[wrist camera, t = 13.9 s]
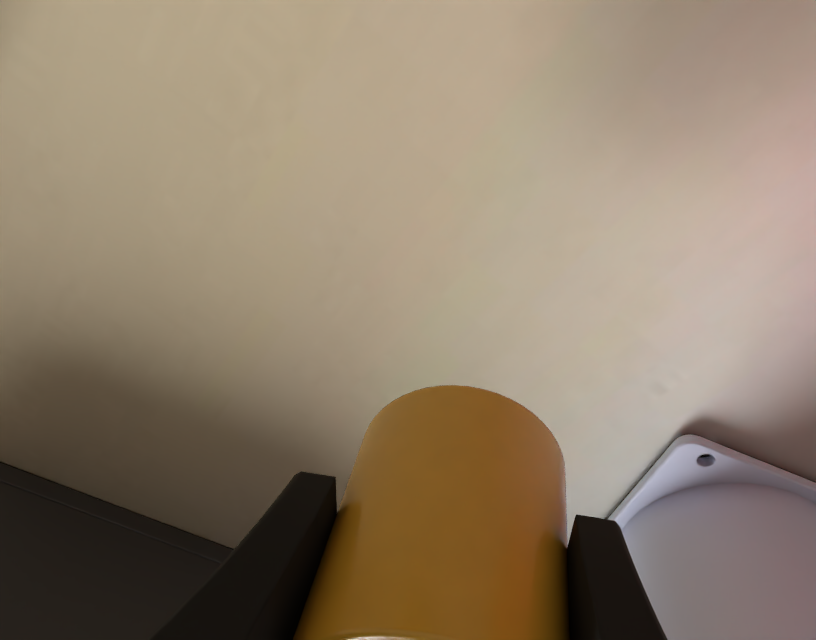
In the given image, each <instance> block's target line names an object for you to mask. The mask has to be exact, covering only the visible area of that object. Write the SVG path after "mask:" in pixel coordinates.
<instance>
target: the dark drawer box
mask: <svg viewBox="0 0 816 640" xmlns="http://www.w3.org/2000/svg"><path fill="white" fill-rule="evenodd" d="M232 551H233V550H232V549H229V548H226V547H224V546H221V545H218V544H216V543H213V542H210V541H208V540H205V539H203V538H200V537H197V536H195V535H192V534H189V533H187V532H184V531H181V530H179V529H176V528H173V527H171V526H168V525H165V524H163V523H160V522H157V521H155V520H152V519H149V518H147V517H144V516H141V515H139V514H136V513H133V512H131V511H128V510H125V509H123V508H120V507H117V506H115V505H112V504H109V503H107V502H104V501H101V500H99V499H96V498H93V497H91V496H88V495H85V494H83V493H80V492H77V491H75V490H72V489H69V488H67V487H64V486H61V485H59V484H56V483H53V482H51V481H48V480H45V479H43V478H40V477H37V476H35V475H32V474H29V473H27V472H24V471H21V470H19V469H16V468H13V467H11V466H8V465H5V464H3V463H0V640H147V639H148V638H149V637H150V636H151V635H152V634H153V633H154V632H155V631H156V630H157V629H158V628H159V627H160V626H161V625H162V624H163V623H164V622H166V621H167V620H168V619H169V618H170V617H171V616H172V615H173V614H174V612H175V611H176V610H177V609H178V608H179V607H180V606H181V605H182V604H183V603H184V602H185V601H186V600H187V599H188V598H189V597H190V596H191V595H192V594H193V593H194V592H195V591H196V590H197V589H198V588H199V587H200V586H201V585H202V584H203V583H204V582H205V581H206V580H207V579H208V578H209V577H210V576H211V575H212V574H213V572H214V571H215V570H216V569H217V568H218V567H219V566H220V565H221V564H222V562H223V561H224V560H225V559H226V558H227V557H228V556H229V555H230V554H231V552H232Z"/></svg>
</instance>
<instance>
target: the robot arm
mask: <svg viewBox="0 0 816 640" xmlns="http://www.w3.org/2000/svg"><path fill="white" fill-rule="evenodd" d="M704 454H709V455H710V456H708V457H704V458H701V457H699V456H701V455H704ZM336 514H337V504H336V477H333V476H326V475H320V474H314V473H307V472H299V473H298V474H296V475H295V476H294V477H293V478H292V480H291V481H290V482H289V484H288V485H287V486H286V488H285V489H284V490H283V491H282V493H281V494H280V495H279V497H278V498H277V499H276V500H275V502H274V503H273V504H272V505H271V507H270V508H269V509H268V510H267V512H266V513H265V514H264V515H263V517H262V518H261V519H260V520H259V521H258V522H257V524H256V525H255V526H254V527H253V528H252V530H251V531H250V532H249V533H248V534H247V536H246V537H245V538H244V539H243V540H242V541H241V542H240V543H239V545H238V546H237V547H236V548H235V549H234V550H233V551H232V552H231V554H230V555H229V556H228V557H227V558H226V559H225V560H224V561H223V562H222V564H221V565H220V566H219V567H218V568H217V569H216V570H215V571H214V572H213V574H212V575H211V576H210V577H209V578H208V579H207V580H206V581H205V582H204V583H203V584H202V585H201V586H200V587H199V588H198V589H197V590H196V591H195V592H194V593H193V594H192V595H191V596H190V597H189V598H188V599H187V600H186V601H185V602H184V603H183V604H182V605H181V606H180V607H179V608H178V609H177V610H176V611H175V612H174V614H173V615H172V616H171V617H170V618H169V619H168V620H167V621H166V622H164V623H163V624H162V625H161V626H160V627H159V628H158V629H157V630H156V631H155V632H154V633H153V634H152V635H151V636H150V637H149V638H148V639H147V640H292V639H293V636H294V633H295V630H296V627H297V624H298V622H299V619H300V616H301V613H302V610H303V607H304V605H305V602H306V599H307V596H308V593H309V591H310V588H311V585H312V582H313V579H314V576H315V574H316V571H317V568H318V565H319V563H320V560H321V557H322V554H323V551H324V548H325V546H326V543H327V540H328V537H329V534H330V531H331V529H332V526H333V523H334V520H335V517H336ZM567 561H568V593H569V620H570V640H816V483H815V482H812V481H810V480H807V479H805V478H802V477H800V476H797V475H795V474H792V473H790V472H787V471H785V470H782V469H780V468H777V467H775V466H772V465H770V464H767V463H765V462H762V461H760V460H757V459H755V458H752V457H750V456H747V455H745V454H742V453H740V452H737V451H735V450H732V449H730V448H727V447H725V446H722V445H720V444H717V443H715V442H712V441H710V440H707V439H705V438H702V437H700V436H696V435H683V436H681V437H678V438H677V439H676V440H675V441H674V442H673V443H672V444H671V445H670V446H669V448H668V449H667V450H666V451H665V452H664V453H663V455H662V456H661V457H660V458H659V459H658V460H657V462H656V463H655V464H654V465H653V466H652V467H651V469H650V470H649V471H648V472H647V473H646V474H645V476H644V477H643V478H642V479H641V480H640V482H639V483H638V484H637V485H636V486H635V487H634V489H633V490H632V491H631V492H630V493H629V494H628V496H627V497H626V498H625V499H624V500H623V501H622V503H621V504H620V505H619V506H618V507H617V508H616V510H615V511H614V512H613V513H612V514H611V515H610V517H609V518H608V519H601V518H595V517H588V516H582V515H576V516H575V520H574V524H573V528H572V532H571V536H570V540H569V543H568V547H567Z"/></svg>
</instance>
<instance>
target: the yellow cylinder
mask: <svg viewBox="0 0 816 640" xmlns="http://www.w3.org/2000/svg"><path fill="white" fill-rule="evenodd" d="M292 640H570V620H569V593H568V561H567V514H566V481H565V463H564V459H563V455H562V452H561V449H560V447H559V445H558V442H557V441H556V439H555V438H554V436H553V434H552V433H551V431H550V430H549V429H548V428H547V427H546V425H545V424H544V423H543V422H542V421H541V420H540V419H539V418H538V417H537V416H536V415H534V414H533V413H532V412H531V411H529V410H528V409H527V408H525V407H524V406H522V405H521V404H519V403H517V402H515V401H513V400H512V399H510V398H507V397H505V396H502V395H500V394H498V393H495V392H491V391H488V390H485V389H480V388H475V387H469V386H458V385H446V386H434V387H427V388H423V389H420V390H416V391H413V392H410V393H408V394H405V395H403V396H401V397H399V398H397V399H396V400H394V401H392V402H391V403H390V404H388V405H387V406H386V407H384V408H383V409H382V410H381V411H380V412H379V413H378V414H377V415H376V416H375V417H374V419H373V420H372V422H371V423H370V425H369V426H368V429H367V431H366V433H365V435H364V438H363V441H362V444H361V447H360V450H359V452H358V455H357V458H356V461H355V464H354V467H353V469H352V472H351V475H350V478H349V481H348V483H347V486H346V489H345V492H344V495H343V498H342V500H341V503H340V506H339V509H338V512H337V514H336V517H335V520H334V523H333V526H332V529H331V531H330V534H329V537H328V540H327V543H326V546H325V548H324V551H323V554H322V557H321V560H320V563H319V565H318V568H317V571H316V574H315V576H314V579H313V582H312V585H311V588H310V591H309V593H308V596H307V599H306V602H305V605H304V607H303V610H302V613H301V616H300V619H299V622H298V624H297V627H296V630H295V633H294V636H293V639H292Z"/></svg>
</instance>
